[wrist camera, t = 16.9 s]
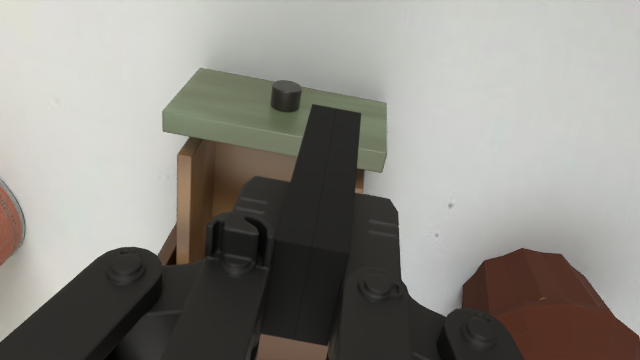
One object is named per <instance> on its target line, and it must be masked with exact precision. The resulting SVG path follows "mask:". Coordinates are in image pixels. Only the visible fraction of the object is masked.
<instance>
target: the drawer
mask: <svg viewBox="0 0 640 360" xmlns="http://www.w3.org/2000/svg"><path fill="white" fill-rule="evenodd" d="M312 104H316V105H321V106H326V107H332V108H337V109H342V110H348V111H353V112H359V113H361V123H360V136H359V148H358V161H357V173H356V186H355V193H360V194H363V188H364V173H365V170H369V171H374V172H379V173H382V171H383V167H384V163H385V159H386V155H387V103H384V102H379V101H374V100H369V99H363V98H358V97H353V96H347V95H342V94H337V93H331V92H326V91H321V90H315V89H310V88H305V87H301V86H300V85H299V84H297V83H295V82H292V81H285V80H281V81H276V82H273V81H268V80H262V79H257V78H252V77H246V76H241V75H236V74H230V73H225V72H220V71H214V70H209V69H204V68H200V69H199V70H198V71H197V72H196V73H195V74H194V75H193V77H192V78H191V79H190V80H189V81H188V82H187V83H186V85H185V86H184V87H183V88H182V89H181V90H180V92H179V93H178V94H177V95H176V96H175V97H174V98H173V100H172V101H171V102H170V103H169V104H168V105H167V106H166V108H165V109H164V110H163V111H162V116H163V132H168V133H173V134H179V135H184V136H189V139H188V140H187V141H186V143H185V144H184V146H183V147H182V149H181V150H180V152H179V153H178V154H177V250H176V265H181V264H189V263H193V262H196V261H200V260H202V259H204V258H205V247H206V226H207V224H208V223H209V222H210V220H211V219H212V218H213V217H215V216H217V215H219V214H221V213H225V212H231V211H232V210H233V209H234V206H235V203H236V201H237V199H238V196H239V194H240V191H241V189H242V187H243V184H245V183H246V182H247V181H249V180H250V179H252V178H253V177H254V176H261V177H267V178H272V179H278V180H283V181H288V182H291V178H292V175H293V171H294V168H295V164H296V161H297V157H298V153H299V150H300V146H301V143H302V139H303V136H304V132H305V128H306V125H307V121H308V118H309V114H310V111H311V107H312Z"/></svg>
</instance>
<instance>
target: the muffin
mask: <svg viewBox="0 0 640 360" xmlns="http://www.w3.org/2000/svg"><path fill="white" fill-rule="evenodd" d="M462 308H472V309H478V310H481V311H483V312H485V313H488V314H490V315H492V316H493V317H495V318H496V319H497V320H499V321H500V322H501V323H503V325H504V326H505V327H506V329H507V330H508V331H509V333H510V334H511V336H512V338H513V339H514V341H515V343H516V345H517V347H518V349H519V350H520V352H521V354H522V356H523V358H524V360H640V338H639V336H638V335H637V334H636V333H635V332H633V331H632V330H631V329H630V328H628V327H627V326H626V325H625V324H623V323H622V322H621V321H620V320H618V319H617V318H616V317H615V316H614V315H613V313H612V312H611V311H610V309H609V308H608V307H607V305H606V304H605V303H604V301H603V300H602V299H601V297H600V296H599V295H598V293H597V292H596V291H595V290H594V288H593V287H592V286H591V284H590V283H589V282H588V280H587V279H586V278H585V276H584V275H582V274H581V273H580V272H578V271H577V270H576V269H574V268H573V267H572V266H571V265H570V264H569V263H568V262H567V260H566V259H565V258H564V257H563V256H562V254H552V253H541V252H536V251H532V250H528V249H524V248H521V249H519V250H516V251H514V252H512V253H509V254H507V255H504V256H501V257H497V258H493V259H489V260H485V261H484V262H483V263H482V265H481V266H480V267H479V269H478V270H477V272H476V273H475V274H474V275H473V276H472V277H471V278H470V279H469V280H468V281H467V282H466V283H465V284H464V285H463V300H462Z"/></svg>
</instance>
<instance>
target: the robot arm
mask: <svg viewBox="0 0 640 360" xmlns="http://www.w3.org/2000/svg"><path fill="white" fill-rule="evenodd" d="M360 123H361V113H359V112H353V111H348V110H342V109H337V108H332V107H326V106H321V105H316V104H312V107H311V111H310V114H309V118H308V121H307V125H306V128H305V132H304V136H303V139H302V143H301V146H300V150H299V153H298V157H297V161H296V164H295V168H294V171H293V175H292V178H291V182H288V181H283V180H278V179H272V178H267V177H261V176H254V177H253V178H252V179H250V180H249V181H247V182H246V183H245V184H243V187H242V189H241V191H240V194H239V196H238V199H237V201H236V203H235V206H234V209H233V210H232V211H231V212H225V213H221V214H219V215H217V216H215V217H213V218H212V219H211V220H210V222H209V223H208V224H207V226H206V247H205V258H204V259H202V260H200V261H196V262H193V263H189V264H181V265H163V266H162V262H161V261H160V259H159V258H158V256H157V255H156V254H154V253H152V252H150V251H149V250H147V249H142V248H137V247H123V248H118V249H115V250H111V251H108V252H106V253H105V254H103V255H101V256H100V257H98V258H97V259H96V260H94V261H93V262H92V263H91V264H90V265H89V266H88V267H86V268H85V269H84V270H83V271H82V272H81V273H80V274H78V275H77V276H76V277H75V278H74V279H73V280H71V281H70V282H69V283H68V284H67V285H66V286H65V287H63V288H62V289H61V290H60V291H59V292H58V293H57V294H55V295H54V296H53V297H52V298H51V299H50V300H48V301H47V302H46V303H45V304H44V305H43V306H42V307H40V308H39V309H38V310H37V311H36V312H35V313H33V314H32V315H31V316H30V317H29V318H28V319H27V320H25V321H24V322H23V323H22V324H21V325H20V326H19V327H17V328H16V329H15V330H14V331H13V332H12V333H10V334H9V335H8V336H7V337H6V338H5V339H4V340H2V341H1V342H0V360H256V359H257V355H258V348H259V341H260V336H261V334H264V335H270V336H275V337H280V338H286V339H291V340H296V341H302V342H307V343H312V344H318V345H323V346H328V352H327V356H326V360H524V358H523V356H522V354H521V352H520V350H519V349H518V347H517V345H516V343H515V341H514V339H513V338H512V336H511V334H510V333H509V331H508V330H507V329H506V327H505V326H504V325H503V323H501V322H500V321H499V320H497V319H496V318H495V317H493V316H492V315H490V314H488V313H485V312H483V311H481V310H478V309H472V308H461V309H455V310H454V311H452V312H451V313H450V314H448V315H447V317H445V316H443V315H440V314H438V313H436V312H434V311H431V310H429V309H427V308H426V307H424V306H422V305H420V304H419V303H417V302H416V301H415V300H414V299H412V298H411V296H410V295H409V294H408V290H407V287H406V285H405V284H404V283H403V282H402V280H401V267H400V245H399V228H398V226H399V223H398V211H397V210H396V208H395V207H394V205H393V204H392V202H391V200H390V199H387V198H381V197H376V196H371V195H365V194H360V193H355V186H356V173H357V161H358V148H359V136H360ZM328 342H329V344H328Z"/></svg>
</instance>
